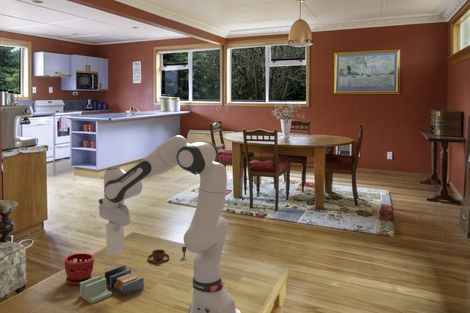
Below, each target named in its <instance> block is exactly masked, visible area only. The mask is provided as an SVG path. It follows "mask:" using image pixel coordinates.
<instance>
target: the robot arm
mask: <svg viewBox="0 0 470 313" xmlns="http://www.w3.org/2000/svg"><path fill="white" fill-rule="evenodd" d="M219 155H220V153H219V149H218V147H217V146H216V145H215V144H214V143H213V142H211V141H196V142H192V143H190V142H189V141H188V139H187V138H185V136H182V135H179V134H178V135H177V134H176V135H174V136H171V137H170V138H168V139H166V140H165V141H163V142H162V143H160V144H159V145H158V146H156V148H155V149H154V150H152V151H151V152H150V153H149V154H148V155H147V156H146V157H144V158H143V159H141V161H139V162H138V163H137V164H136V165H134V166H133V167H132V168H130V169H129V170H127V171H125V170H124V168H123V167H121V166H119V167H118V166H116V167H110V168H107V169H106V170H105V171H104V175H103V188H104V189H103V192H104V195H103V197H102V198H99V199H98V202H97V203H98V205H99V206H98V214H99V217H100V218H101V219H103V220H104V219H105V220H107V221H108V223H112V222H114V223H115V224H116V228H114V229H115V231H116V232H119V231H120V226H121V225H123V226H124V227H125V226H128V225H131V214H130V209H129V208H128V207H127V205H126V204H125V200H127V199H131V198H133V197H136V196H139V194H141V192H142V190H143V184H142V181H143V180H145V179H147V178H151V177H154V176H158V175H161V174H166V173H167V172H169V171H170V170H173V169H174V168H175V167H176V166H177V165H178V166H179V167H180V168H181V169H182V170H184V171H187V172H189V173H191V174H192V175H196V176H197V175H199V180H200V181H199V186H198V196H197V203H196V208H195V211H194V213H193V216H192V219H191V221H190V225H189V227H188V228H187V230H186V231H185V233H184V235H183V244H184V247H186V250H188V251H189V252H191V253H194V254H195V253H196V255H195V256H194V259H193V276H192V288H193V289H192V297H191V302H190V306H189V313H242V312H241V310H240V309H238V308H236V302H235V300H234V299H235V298H233V297H232V295H231V293H229V292H228V290H227V289H226V288H225V287H224V285H225V281H222V280H223V279H222V277H221V259H222V253H223V249H224V246H225V245H224V244H225V241H226V237H227V236H228V234H229V230H230V224H229V222H228V221H227V220H226V218H225V217H223V216H221V214H222V213H223V212H224V208H225V203H226V202H225V201H226V195H227V184H228V174H227V168H226V166H225V165H224V164H222V163H221V162H217V161H218V158H219Z"/></svg>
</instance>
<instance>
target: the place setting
mask: <svg viewBox="0 0 470 313" xmlns="http://www.w3.org/2000/svg"><path fill="white" fill-rule="evenodd" d="M181 251H182V253H183V257H184V258H185V257H186V252H187V248H186V246H182V247H181ZM173 255H174V253H172V256H173ZM165 257H166V259H164V258H165ZM151 258H153V260H151ZM169 260H170V255H169V254H168V253H166V251H165V250H164V249H161V248H160V249H154V250H152V253H151V254H150V255H148V256H147V261H148V262H149V263H151V265H153V266H160V265H161V264H162V263H166V262H168V261H169Z"/></svg>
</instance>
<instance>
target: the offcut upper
mask: <svg viewBox="0 0 470 313" xmlns="http://www.w3.org/2000/svg"><path fill="white" fill-rule="evenodd" d="M136 279H138V277H137V276H135V275H134V274H133V275H132V273H131V274H127V275H125V276H122V277H119V278H117V283H118V284H120V285H124V284H126V283H129V282H131V281H134V280H136Z"/></svg>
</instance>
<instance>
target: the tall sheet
mask: <svg viewBox="0 0 470 313" xmlns="http://www.w3.org/2000/svg"><path fill="white" fill-rule="evenodd" d="M124 227H125V226H123V225H121V226H120V231H119V232H116V231H115V229H114V228H116V224H115V223H114V222H112V223H109V222H107V223H106V224H105V237H106V240H105V241H106V256H108V257H112V256H114V255H117V254H120V253H123V252H125V238H124V236H125V235H124V234H125V233H124V231H125V230H124Z"/></svg>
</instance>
